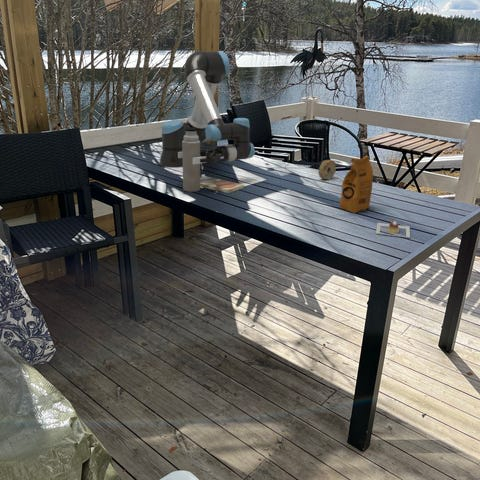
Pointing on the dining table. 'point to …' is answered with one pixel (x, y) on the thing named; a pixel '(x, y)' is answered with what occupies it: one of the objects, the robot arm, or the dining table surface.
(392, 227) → the dessert
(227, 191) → the board
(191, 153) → the thermos bottle
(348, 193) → the coffee package
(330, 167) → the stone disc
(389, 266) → the dining table surface
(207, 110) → the robot arm
